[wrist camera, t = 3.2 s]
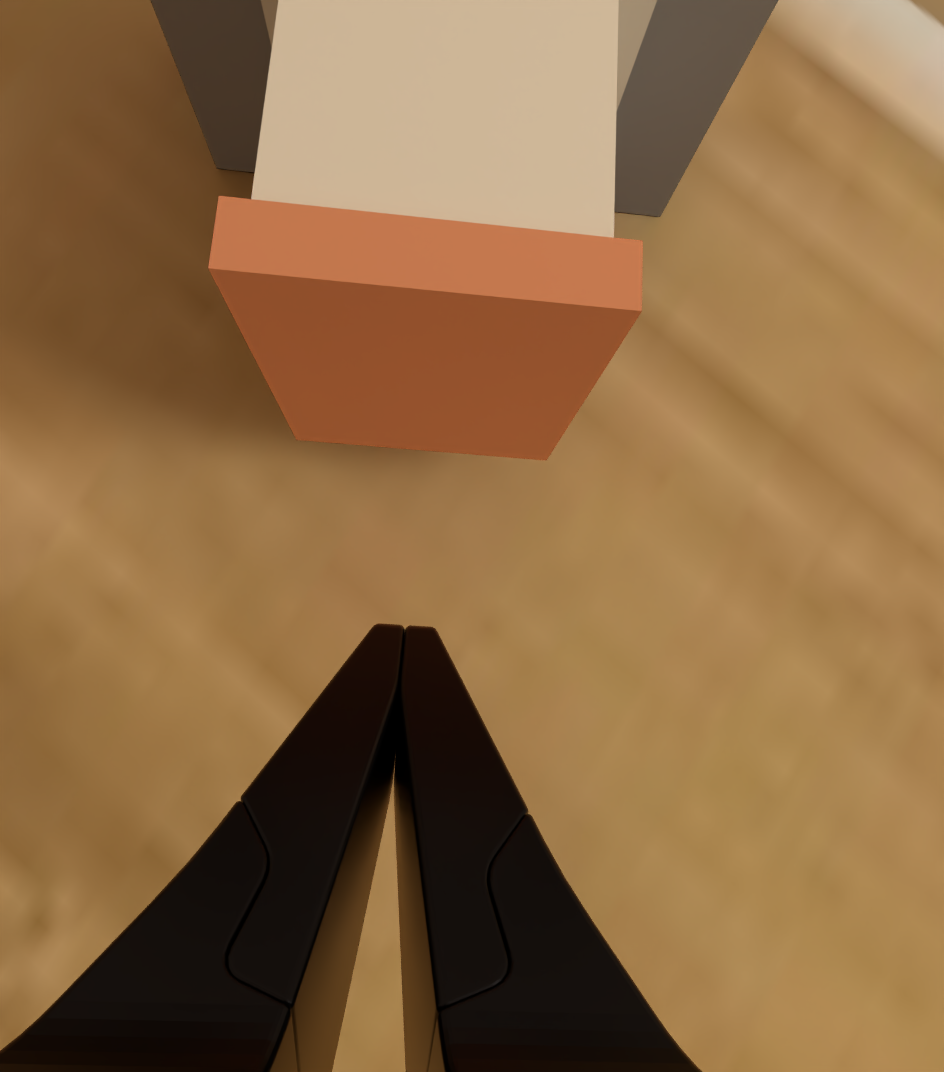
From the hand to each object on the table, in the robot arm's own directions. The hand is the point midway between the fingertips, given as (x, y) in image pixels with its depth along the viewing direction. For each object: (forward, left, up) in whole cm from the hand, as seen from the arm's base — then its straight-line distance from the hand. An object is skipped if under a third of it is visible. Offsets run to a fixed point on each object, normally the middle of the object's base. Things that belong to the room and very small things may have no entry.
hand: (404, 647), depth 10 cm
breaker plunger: (+8, -5, -4) cm, 10 cm away
